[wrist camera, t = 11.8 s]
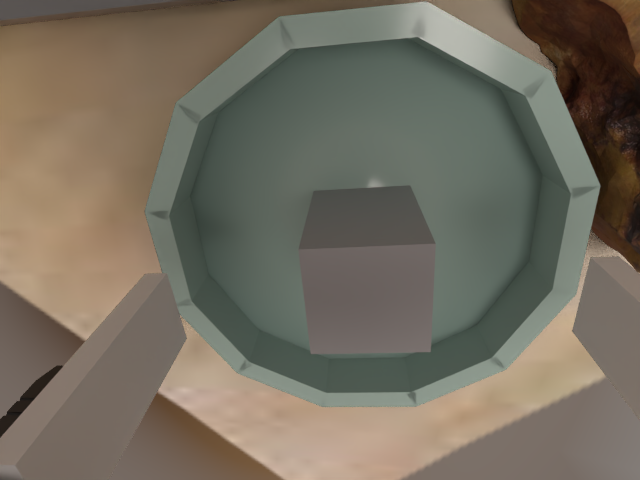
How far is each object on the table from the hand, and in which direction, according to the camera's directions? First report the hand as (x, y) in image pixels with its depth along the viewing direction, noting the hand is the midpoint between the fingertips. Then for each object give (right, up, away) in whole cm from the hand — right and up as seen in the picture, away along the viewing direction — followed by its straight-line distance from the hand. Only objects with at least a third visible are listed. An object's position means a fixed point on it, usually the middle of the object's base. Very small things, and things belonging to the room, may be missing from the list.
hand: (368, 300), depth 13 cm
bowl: (0, +3, +7) cm, 8 cm away
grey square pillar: (+1, +2, +6) cm, 7 cm away
